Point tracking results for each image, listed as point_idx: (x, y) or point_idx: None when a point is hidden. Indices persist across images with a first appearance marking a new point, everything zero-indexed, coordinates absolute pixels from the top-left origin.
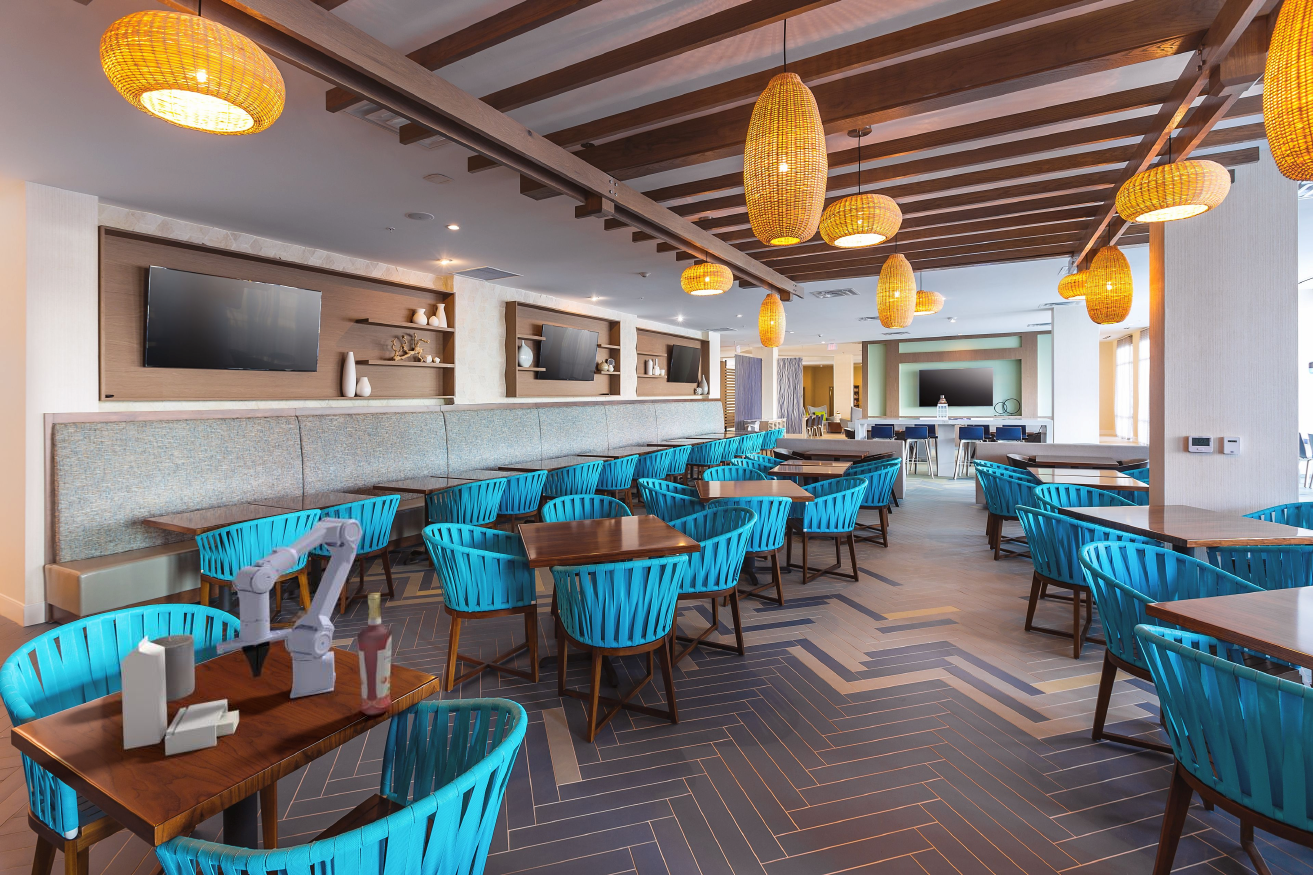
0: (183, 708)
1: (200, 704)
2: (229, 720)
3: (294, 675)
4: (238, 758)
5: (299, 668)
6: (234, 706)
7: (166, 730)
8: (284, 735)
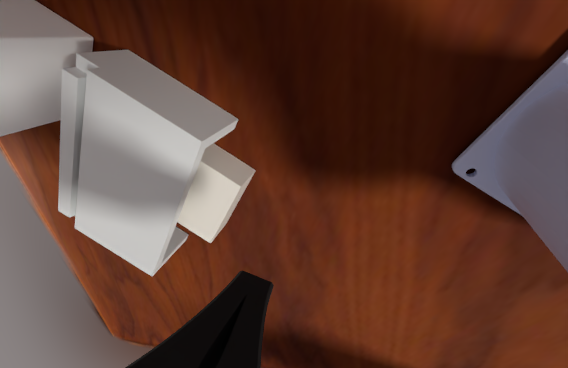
0: (71, 80)
1: (120, 99)
2: (205, 224)
3: (538, 184)
4: None
5: (562, 258)
6: (285, 27)
7: (90, 48)
8: (296, 322)
